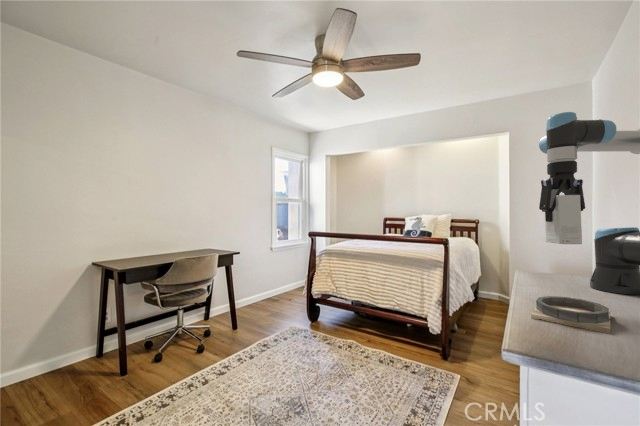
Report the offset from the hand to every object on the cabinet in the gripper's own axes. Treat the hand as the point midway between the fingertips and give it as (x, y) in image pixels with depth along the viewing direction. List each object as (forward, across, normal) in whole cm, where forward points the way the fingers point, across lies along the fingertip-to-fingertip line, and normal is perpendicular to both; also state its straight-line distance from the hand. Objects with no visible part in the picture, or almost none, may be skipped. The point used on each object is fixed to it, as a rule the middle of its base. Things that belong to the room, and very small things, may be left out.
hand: (562, 231), depth 94 cm
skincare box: (+4, 0, 0) cm, 4 cm away
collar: (+24, +9, +10) cm, 27 cm away
